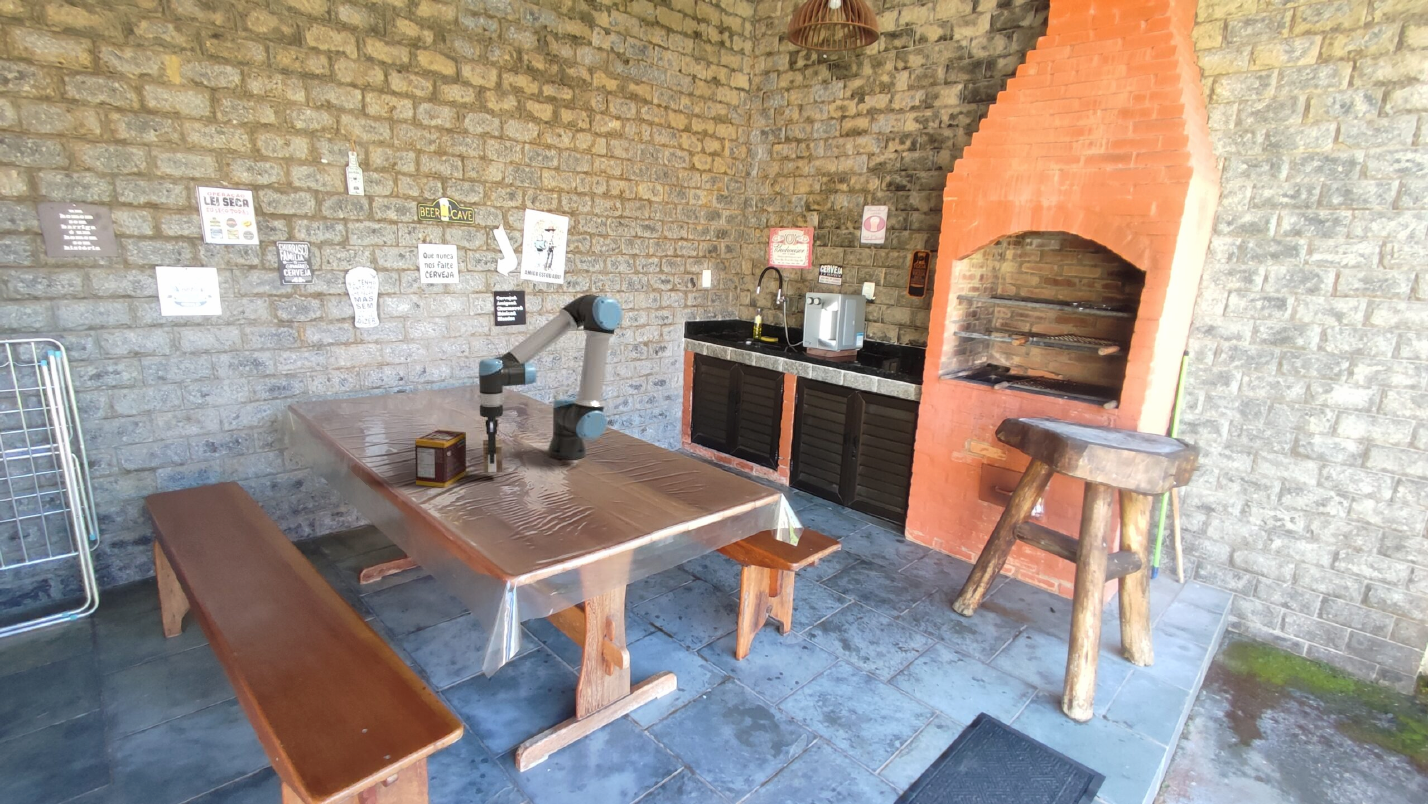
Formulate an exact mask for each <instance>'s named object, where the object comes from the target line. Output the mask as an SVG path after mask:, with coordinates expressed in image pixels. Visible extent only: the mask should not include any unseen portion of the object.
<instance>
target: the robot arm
mask: <svg viewBox="0 0 1428 804" xmlns="http://www.w3.org/2000/svg"><path fill="white" fill-rule="evenodd" d="M622 320H623V310H622V308H621V305H620V304H619V302H618V301H617V300H616V299H614V298H611V297H609V296H606V295H605V296H603V295H594V294H584V295H581V296H578V297H577V298H575V299H573V300H572V301H570V302H569V303H567V304H566V305H565V306H563V307H562V308H560V310H559V311H558V314H557V315H556V316H555V317H553V318H552V319H550V320H549V321H548V322H546V323H544V324H543V326H541V327H539V328H538V329H537V330H536V331H534V332H533V333H532V334H530V335H529V336H527V337H526V338H524V339H523V340H522V341H521V342H520V343H518V344H517V345H516V346H514V347H513V348H511V349H510V350H509V351H508V352H506V353H504V354H503V355H502V356H495V357H493V358H485V359H481V360H480V361H479V363H478V382H479V394H477V398H478V399H479V404H480V405H479V416H480V417H482V418H487V419H486V420H485V430H486V434H487V440H488V453H486V455H488V472H490V473H497V472H496V440H497V439H496V435H497V434H498V419H496V418H500V417H503V415H504V408H503V407H504V405H503V403H504V391H503V390H504V388H503V387H511V386H513V387H514V386H526V385H533V384H534V383H535V382H536V381H537V376H538V375H537V368H536V366H535V364H533V363H532V362H531V361H532V360H534V359H535V358H536V357H537V356H539V355H541V354H542V353H543V352H544V351H546V350H547V349H549V347H551V346H553V344H555V343H556V342H558V341H559V340H560V339H562V338H563V337H564V336H566V335H567V334H568V333H569V332H571V331H577V330H578V329H580V328H581V327H583V328H582V331H583V332H584V333H585V336H586V337H585V344H584V351H583V359H582V366H581V374H580V382H579V387H578V388H579V390H578V396H577V397H565V398H564V397H563V398H558V399H555V400H554V402H553V407H552V410H553V411H552V414H553V415H552V437H551V439H550V443H549V445H548V447H547V456H549V457H550V458H552V459H556V460H562V461H563V460H565V461H566V460H567V461H568V460H572V461H573V460H578V459H583V458H585V457H586V456H587V447H586V444H585V443H586V442H585V440H588V441H592V440H596V439H598V438H600V437H601V436H602V435H603V434H604V433H605V431H606V430H607V427H608V418H607V416H606V414H605V413H604V410H605V404H604V403H603V402H602V394H603V389H604V387H603V386H604V380H605V373H606V372H605V371H606V364H607V358H608V350H609V344H610V338H612V337H613V336H614V335H615V331H616V329H617V328H618V327H619V326H620V325H621V323H622ZM584 439H585V440H584Z"/></svg>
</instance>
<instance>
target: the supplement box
mask: <svg viewBox="0 0 1428 804" xmlns="http://www.w3.org/2000/svg"><path fill="white" fill-rule="evenodd" d="M466 436H467V432H466V431H455V430H447V429H436V430H434V431H432V432H430V433H428V434H426V435H423V436H421V437H419V438H417V439H415V441H414V450H415V454H414V455H415V458H414V459H415V485H416V486H426V487H434V488H435V487H436V488H444V489H445V488H446V487H448V486H450V485H451V484H454V483H455V482H456V481H457V480H459V479H462V478H463V477H464V476H466V475H467V437H466Z"/></svg>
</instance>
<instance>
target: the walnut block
mask: <svg viewBox="0 0 1428 804" xmlns="http://www.w3.org/2000/svg"><path fill="white" fill-rule="evenodd" d="M502 442H503V441H502V439H496V472H495V473H503V452H502V451H503V450H502V449H503V448H502V447H503V444H502ZM482 449H483V451H482V452H483V453H482V455H483V456H482V457H483V473H484V474H485V473H486V474H488V473H491V472H488V455H486V453H488V439H484V440H483V441H482Z"/></svg>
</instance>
